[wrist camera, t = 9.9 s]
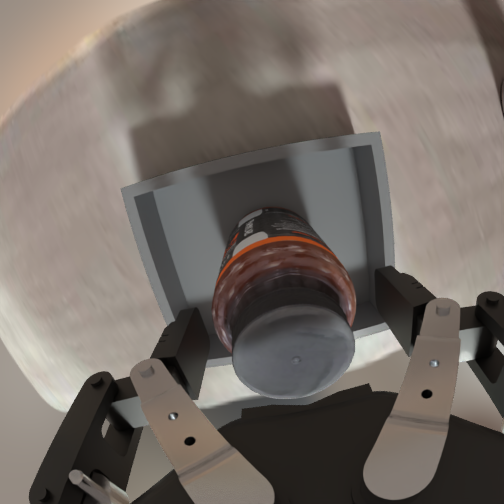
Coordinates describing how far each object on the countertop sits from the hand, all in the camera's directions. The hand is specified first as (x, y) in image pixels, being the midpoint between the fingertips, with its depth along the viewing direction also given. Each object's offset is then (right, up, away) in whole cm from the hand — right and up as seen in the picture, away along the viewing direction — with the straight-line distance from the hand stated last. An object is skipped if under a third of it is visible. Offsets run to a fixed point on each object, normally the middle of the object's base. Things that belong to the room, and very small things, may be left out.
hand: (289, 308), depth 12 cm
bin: (0, +3, +8) cm, 8 cm away
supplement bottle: (0, +3, +7) cm, 8 cm away
